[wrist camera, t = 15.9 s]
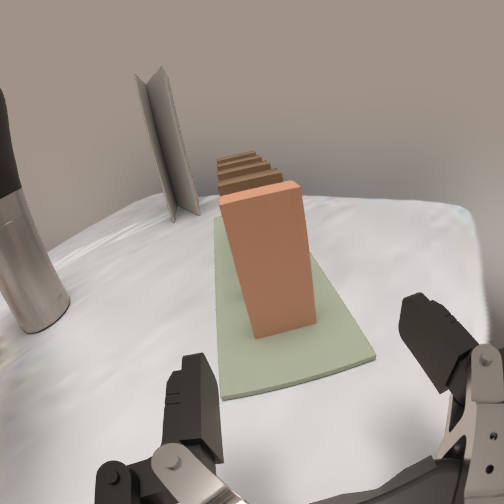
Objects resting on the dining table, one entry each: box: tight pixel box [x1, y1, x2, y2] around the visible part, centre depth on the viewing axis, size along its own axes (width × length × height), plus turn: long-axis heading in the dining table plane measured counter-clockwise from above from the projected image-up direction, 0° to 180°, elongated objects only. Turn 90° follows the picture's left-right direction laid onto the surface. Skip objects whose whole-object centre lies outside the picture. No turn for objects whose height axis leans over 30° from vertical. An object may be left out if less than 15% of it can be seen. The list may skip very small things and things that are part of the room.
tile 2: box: [218, 168, 283, 196], centre depth 25 cm, size 2×5×11 cm, turn 97°
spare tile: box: [219, 180, 316, 340], centre depth 20 cm, size 2×5×11 cm, turn 98°
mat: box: [214, 216, 376, 400], centre depth 33 cm, size 36×11×1 cm, turn 7°
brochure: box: [134, 66, 200, 223], centre depth 53 cm, size 14×6×30 cm, turn 12°
